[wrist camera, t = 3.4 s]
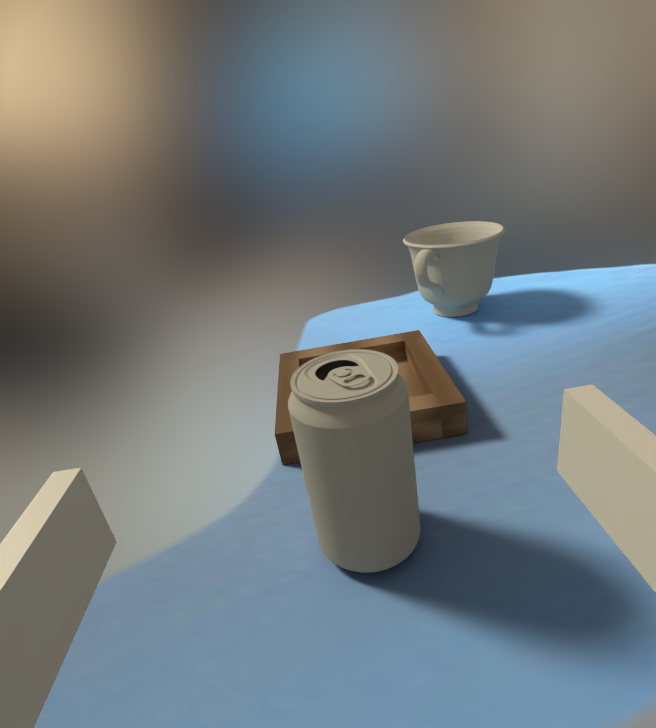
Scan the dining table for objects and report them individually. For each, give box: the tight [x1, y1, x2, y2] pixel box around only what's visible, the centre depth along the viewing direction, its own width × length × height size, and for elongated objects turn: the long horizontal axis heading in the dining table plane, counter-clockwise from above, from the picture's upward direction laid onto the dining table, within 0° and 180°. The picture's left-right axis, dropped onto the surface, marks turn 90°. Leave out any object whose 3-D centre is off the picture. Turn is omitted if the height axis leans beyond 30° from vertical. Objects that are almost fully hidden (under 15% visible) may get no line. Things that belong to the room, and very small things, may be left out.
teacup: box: [403, 221, 505, 317], centre depth 58 cm, size 12×15×10 cm
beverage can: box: [288, 349, 420, 573], centre depth 27 cm, size 6×6×12 cm
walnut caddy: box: [275, 330, 467, 465], centre depth 43 cm, size 15×15×3 cm
